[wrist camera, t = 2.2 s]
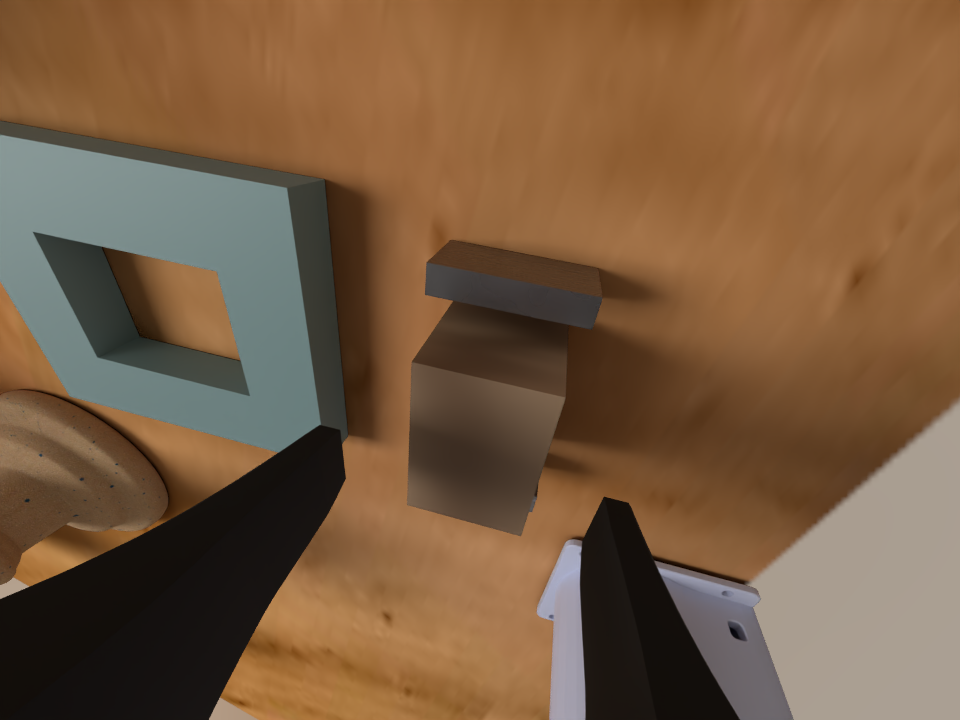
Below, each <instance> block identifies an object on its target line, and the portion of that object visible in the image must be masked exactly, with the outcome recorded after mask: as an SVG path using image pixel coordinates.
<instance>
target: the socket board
mask: <svg viewBox="0 0 960 720" xmlns="http://www.w3.org/2000/svg"><path fill="white" fill-rule="evenodd" d="M102 247H106V248H111V249H115V250H120V251H125V252H129V253H134V254H138V255H143V256H148V257H152V258H157V259H162V260H166V261H171V262H175V263H180V264H185V265H189V266H194V267H199V268H203V269H208V270H212V271H217V274H218V278H219V282H220V285H221V289H222V293H223V296H224V300H225V304H226V308H227V311H228V315H229V319H230V323H231V326H232V330H233V334H234V338H235V341H236V345H237V349H238V353H239V356H240V360H241V361H237V360H233V359H229V358H225V357H221V356H217V355H213V354H208V353H204V352H200V351H196V350H192V349H188V348H184V347H180V346H176V345H171V344H167V343H163V342H159V341H155V340H151V339H147V338H143V337H140V336H139V334H138V332H137V329H136V327H135V325H134V322H133V320H132V318H131V315H130V313H129V311H128V308H127V306H126V304H125V301H124V299H123V296H122V294H121V292H120V289H119V287H118V285H117V282H116V280H115V278H114V275H113V273H112V271H111V268H110V266H109V264H108V261H107V259H106V257H105V254H104V252H103V250H102ZM0 282H1V283H2V285H3V287H4V288H5V290H6V291H7V293H8V295H9V296H10V298H11V300H12V301H13V303H14V305H15V306H16V308H17V310H18V311H19V313H20V315H21V316H22V318H23V320H24V321H25V323H26V325H27V326H28V328H29V330H30V331H31V333H32V334H33V336H34V338H35V339H36V341H37V343H38V344H39V346H40V348H41V349H42V351H43V353H44V354H45V356H46V358H47V359H48V361H49V363H50V364H51V366H52V368H53V369H54V371H55V373H56V374H57V376H58V378H59V379H60V381H61V382H62V384H63V386H64V387H65V389H66V391H67V392H68V394H69V396H70V397H74V398H78V399H81V400H85V401H89V402H93V403H96V404H100V405H104V406H108V407H111V408H115V409H119V410H122V411H126V412H130V413H134V414H137V415H141V416H145V417H149V418H152V419H156V420H160V421H163V422H167V423H171V424H175V425H178V426H182V427H186V428H190V429H193V430H197V431H201V432H204V433H208V434H212V435H216V436H219V437H223V438H227V439H231V440H234V441H238V442H242V443H245V444H249V445H253V446H257V447H260V448H264V449H268V450H271V451H275V452H280V451H282V450H283V449H285V448H286V447H287V446H289V445H290V444H292V443H293V442H295V441H296V440H298V439H299V438H301V437H302V436H303V435H305V434H306V433H308V432H309V431H311V430H312V429H314V428H315V427H317V426H319V425H323V426H327V427H331V428H335V429H339V430H340V431H341V440H342V444H343V442H344V441H345V439H346V438H347V437H348V430H347V419H346V408H345V397H344V386H343V375H342V364H341V353H340V342H339V331H338V321H337V310H336V299H335V288H334V277H333V266H332V255H331V244H330V233H329V222H328V211H327V200H326V190H325V179H320V178H314V177H309V176H303V175H297V174H292V173H286V172H281V171H275V170H270V169H264V168H259V167H253V166H248V165H242V164H237V163H231V162H225V161H220V160H214V159H209V158H203V157H198V156H192V155H187V154H181V153H176V152H170V151H165V150H159V149H154V148H148V147H142V146H137V145H131V144H126V143H120V142H115V141H109V140H104V139H98V138H93V137H87V136H82V135H76V134H71V133H65V132H59V131H54V130H48V129H43V128H37V127H32V126H26V125H21V124H15V123H10V122H4V121H0Z"/></svg>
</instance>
